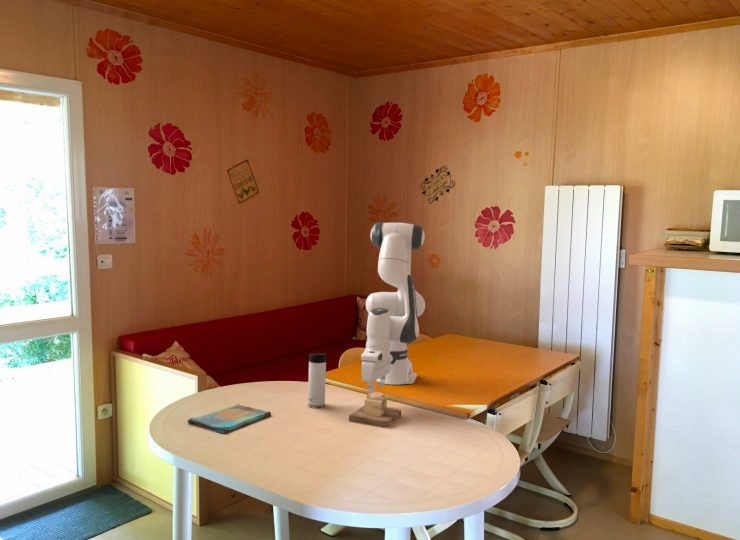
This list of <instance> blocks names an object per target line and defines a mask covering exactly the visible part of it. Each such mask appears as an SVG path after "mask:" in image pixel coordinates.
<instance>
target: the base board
mask: <svg viewBox="0 0 740 540" xmlns="http://www.w3.org/2000/svg"><path fill="white" fill-rule="evenodd" d="M364 408H365V404H364V405H362V406H361V407H360V408H358V409H356V410H355V411H354V412H352V413H350V414H349V415H348V422H350V423H351V422H353V423H356V424H357V423H358V424H364V425H369V426H374V425H375V427H380V426H381V427H382V428H385V427H387V428H388V427H390V426H391V425H392V424H393V423H394V422H395V420H396V419H397V418H398V417H399V416H401V417H402V410H401V409H394V408H388V407H387V412H386V413H384V414H383V415H382V416H374V415H368V414H364ZM399 418H400V417H399ZM399 418H398V419H399ZM398 419H397V420H398ZM397 420H396V421H397ZM393 421H394V422H393ZM392 422H393V423H392ZM391 423H392V424H391ZM390 424H391V425H390ZM381 427H380V428H381Z"/></svg>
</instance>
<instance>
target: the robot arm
mask: <svg viewBox="0 0 740 540" xmlns="http://www.w3.org/2000/svg"><path fill="white" fill-rule="evenodd" d="M425 239H426V234H425V231H424V228H423V227H422V225H419V224H417V223H416V224H415V223H414V224H412V223H406V222H400V221H398V222H383V221H382V222H376V223H374V225H372V228H371V230H370V240H371V244H372V245H373V246H374V247H375V248H377V249H380V250H379V255H378V260H377V261H378V262H377V273H378V276H379V277H380V278H381V280H382V281H384V283H386V284H388V285H390V286H392V287H395V288H396V289H397V291H379V292H373V293H372V292H371V293H370V294H369V295H368V296H367V298H366V299H365V309H366V311H367V313H368V314H367V315H368V316H367V322H366V337H367V339H366V342H365V348H364V351H363V352H362V353H361V355H360V357H361V358H360V360H361V361H362V363H361V379H362V382H363V383H367V387H368V392H369V393H368V394H370V393H373V392H376V391H375V390H376V388H375V381H376V382H377V383H378V388H384V387H385V385H391V386H393V385H396V386H397V385H398V386H399V385H407V384H408V385H409V384H410V385H412V384H414V383H415V382H416V379H417V377H418V374H417V373H415V372H413V363H412V362H411V360H410V359H409V358H408V357H409V352H410V348H408V347H407V345H410V344H412V343H414V342H415V341H416V340H417V339H418V338H419V335H420V334H419V333H420V325H419V320H418V317H421V315H423V313H424V311H425V309H426V301H425V299H424V297H423V295H421V294H420V293H419V292H418V291H417V290H416V288H415V280H414V278H413V276H412V275H411V273H412V272H411V267H412V252H415V251H416V250H417V251H418V250H419V249H421V248H422V247H423V245H424V242H425Z"/></svg>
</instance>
